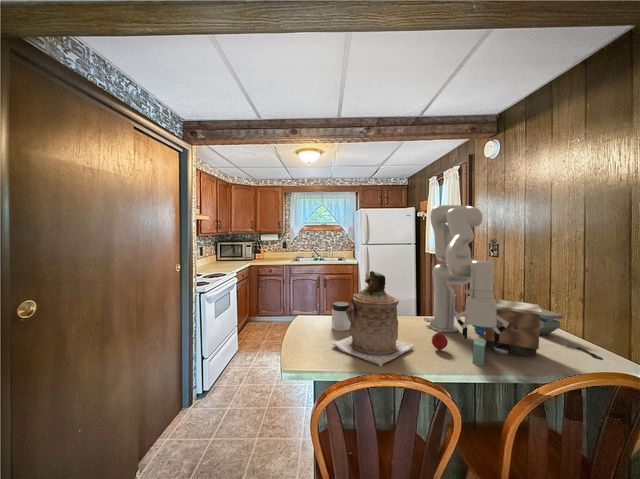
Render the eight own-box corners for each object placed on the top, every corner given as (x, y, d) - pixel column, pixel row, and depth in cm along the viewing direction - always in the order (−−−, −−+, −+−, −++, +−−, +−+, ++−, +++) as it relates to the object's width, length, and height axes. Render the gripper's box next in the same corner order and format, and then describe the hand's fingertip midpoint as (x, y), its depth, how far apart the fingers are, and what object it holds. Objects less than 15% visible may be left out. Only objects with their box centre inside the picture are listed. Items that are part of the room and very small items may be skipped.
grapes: (462, 328, 143) (463, 304, 143) (475, 328, 144) (476, 304, 143) (476, 337, 131) (477, 311, 131) (491, 337, 132) (491, 311, 131)
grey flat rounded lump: (493, 354, 114) (493, 348, 114) (493, 349, 119) (493, 343, 119) (508, 357, 112) (508, 351, 112) (508, 352, 116) (508, 346, 116)
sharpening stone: (505, 322, 155) (506, 301, 154) (520, 321, 155) (520, 301, 155) (545, 339, 130) (546, 315, 130) (561, 339, 130) (562, 315, 130)
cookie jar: (415, 349, 118) (417, 270, 117) (381, 369, 101) (383, 276, 100) (366, 333, 136) (367, 264, 135) (329, 347, 118) (330, 269, 117)
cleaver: (578, 359, 111) (607, 360, 110) (578, 358, 111) (607, 359, 110) (530, 332, 140) (553, 333, 139) (530, 331, 140) (553, 332, 139)
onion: (440, 354, 113) (440, 334, 113) (428, 349, 118) (428, 329, 118) (450, 351, 116) (450, 331, 115) (438, 346, 121) (438, 327, 121)
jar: (351, 331, 138) (352, 305, 138) (335, 332, 136) (335, 306, 136) (346, 324, 147) (346, 301, 146) (330, 325, 145) (330, 301, 145)
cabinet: (483, 352, 115) (484, 305, 114) (484, 341, 126) (486, 298, 126) (540, 364, 106) (542, 312, 105) (536, 351, 117) (538, 304, 116)
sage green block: (472, 363, 106) (473, 344, 106) (476, 346, 122) (476, 329, 122) (483, 365, 104) (484, 346, 104) (486, 347, 120) (486, 331, 120)
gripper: (453, 293, 108) (453, 339, 109) (509, 298, 99) (508, 349, 99) (456, 290, 115) (455, 333, 115) (509, 295, 106) (508, 342, 106)
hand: (480, 340), depth 107 cm, fingers open, 9 cm apart
